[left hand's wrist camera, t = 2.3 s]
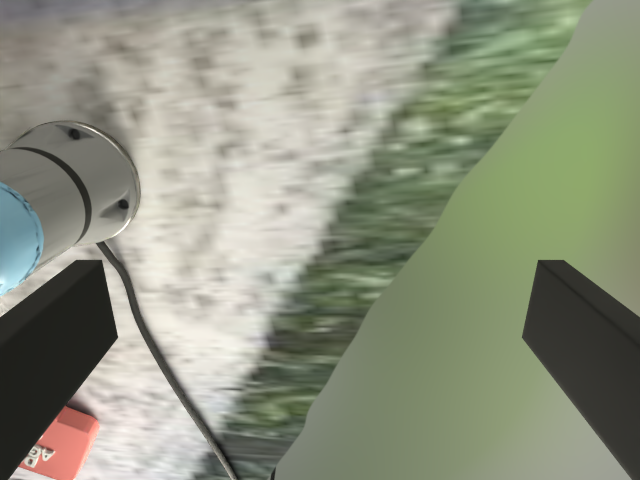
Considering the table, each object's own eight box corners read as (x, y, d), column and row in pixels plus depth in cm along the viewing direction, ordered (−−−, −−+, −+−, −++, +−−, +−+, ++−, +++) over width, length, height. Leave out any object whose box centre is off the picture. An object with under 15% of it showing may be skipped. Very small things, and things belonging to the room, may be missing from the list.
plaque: (97, 424, 62) (70, 488, 67) (109, 405, 65) (83, 467, 70) (-27, 379, 59) (-46, 450, 64) (-7, 362, 62) (-26, 430, 67)
